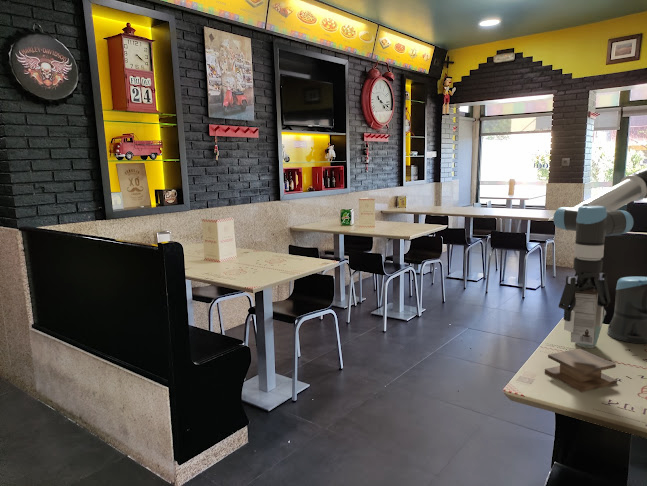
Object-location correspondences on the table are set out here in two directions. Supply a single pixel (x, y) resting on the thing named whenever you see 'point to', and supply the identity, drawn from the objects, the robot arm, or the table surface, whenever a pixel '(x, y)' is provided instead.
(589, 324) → the coffee box
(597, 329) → the disposable coffee cup
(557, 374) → the pedestal
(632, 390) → the table surface
